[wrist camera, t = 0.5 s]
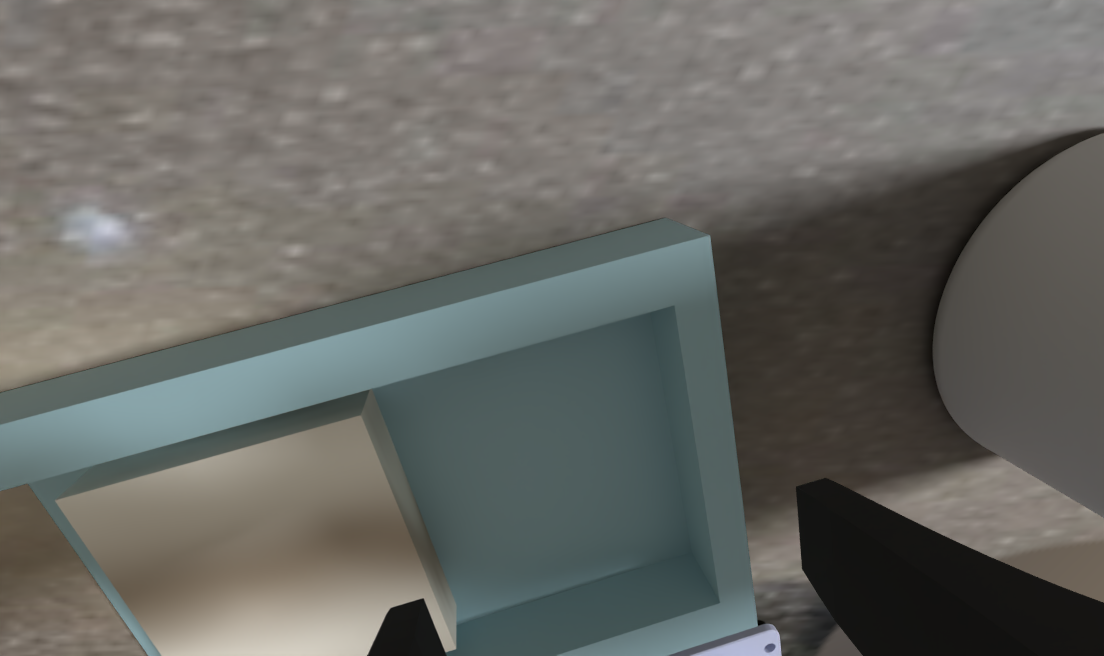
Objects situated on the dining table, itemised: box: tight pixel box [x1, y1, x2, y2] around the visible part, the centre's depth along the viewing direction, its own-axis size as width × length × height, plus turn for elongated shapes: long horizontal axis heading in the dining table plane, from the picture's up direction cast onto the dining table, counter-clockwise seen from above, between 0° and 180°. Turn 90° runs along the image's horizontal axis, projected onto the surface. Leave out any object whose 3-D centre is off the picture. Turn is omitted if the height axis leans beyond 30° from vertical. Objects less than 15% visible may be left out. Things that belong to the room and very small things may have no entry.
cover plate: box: [55, 389, 457, 656], centre depth 17 cm, size 9×8×2 cm
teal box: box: [0, 218, 758, 656], centre depth 17 cm, size 20×14×3 cm
